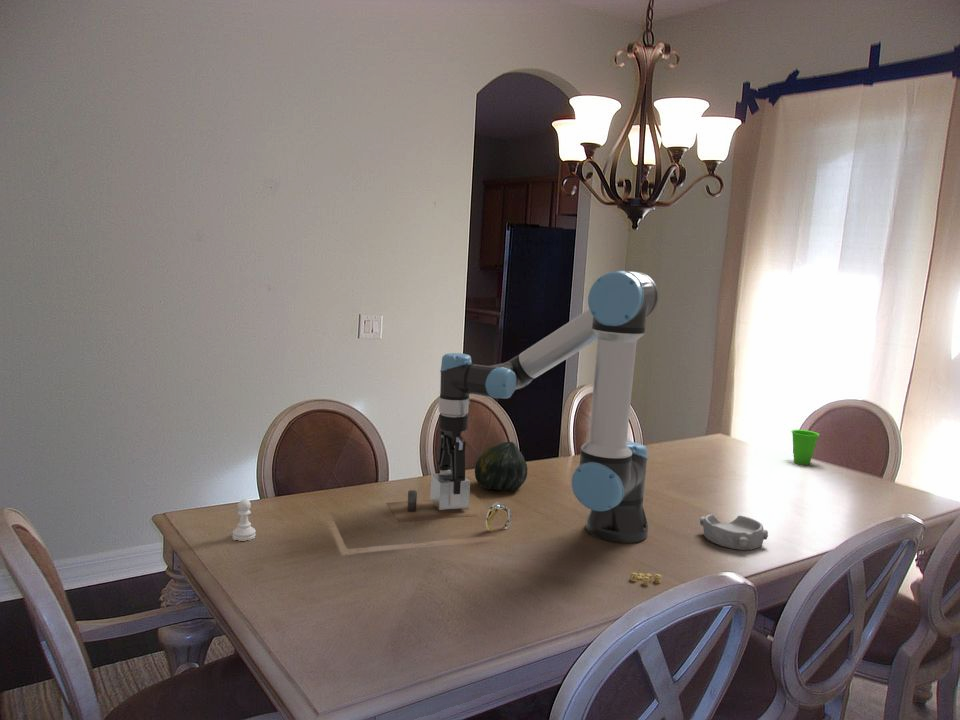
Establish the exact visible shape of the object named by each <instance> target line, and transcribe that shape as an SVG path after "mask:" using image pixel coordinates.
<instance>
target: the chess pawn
mask: <svg viewBox="0 0 960 720" xmlns="http://www.w3.org/2000/svg"><path fill="white" fill-rule="evenodd" d="M237 503H238V504H237V508H238V511H237V515H240V519H239V522H238V523H237V527H236V528H235V529H234V530H232V540H234V539H235V540H242V541H243V540H244V541H245V540H250V541H252V540H251V539H253V538H254V539H256V537H255V536H257V535H256V532H257V531H256V529H255V528H254V527H253V526H251V525H252V523H251V522H250V521H249V515H250V514H252V511H251V510H250V509H251V507H252V505H251V501H250V500H248V499H241V500H239V502H237ZM254 539H253V540H254ZM235 540H234V541H235Z"/></svg>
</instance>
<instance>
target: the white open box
mask: <svg viewBox="0 0 960 720" xmlns="http://www.w3.org/2000/svg"><path fill="white" fill-rule="evenodd" d="M430 476H431V477H430V495H429V496H430V497H429V500H431V501H432V502H433V503H434V504H435V506H436V507H437V508H438V509H439V510H444V509H457V508H469V509H470V495H471V494H470V493H471V480H470V479H468V478H467V477H466V476H465V481H462V482H461V503H460V506H450V505H449V503H450V481H449V480H450V479H452V472H451V473H440V472H439V473H431V475H430Z"/></svg>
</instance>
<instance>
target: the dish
mask: <svg viewBox="0 0 960 720" xmlns="http://www.w3.org/2000/svg"><path fill="white" fill-rule="evenodd" d="M699 524H700V526H702V529H703V534H704V537H705V538H706V539H707V540H708V541H710V542H712V543H714V544H716V545H718V546H722V547H725V548H730V549H732V550H739V551H749V550H754V549H758V548H760V547H762V545H763V542H764V540H767V539H768V537H769V532H768V530H767V529H764V525H763V524H762V523H761V522H760V521H758V520H756V519H754V518H751V517H749V516H748V517H747V516H743V515H737V517H736V518H735V519H733V520H732V521H730V522H721V521H720V520H719V519H718V518H716V517H715V515H714V514H713V513H710V514H708V515H706V516H700V519H699Z"/></svg>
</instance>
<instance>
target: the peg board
mask: <svg viewBox="0 0 960 720" xmlns="http://www.w3.org/2000/svg"><path fill="white" fill-rule="evenodd" d="M417 497H418V492H417V490H415V489H414V490H413V489H412V490H411V489H410V490H408V491H407V501H405V500H404V501H394V502H386V505H387V507H388V508H389V509H390V511H391V512H392V514H393V515H394V517H395V519H397V521H398V522H399V523H402V522H403V523H405V522H416V521H428V520H440V519H452V518H454V519H455V518H466V517H477V515H476V514H475V513H474V512H473V511H472V509H470V507H469V508H457V509H444V510H439V509H438V508H437V507H436V506H435V504H434V503H433V502H432V501H431V500H430V499H423V500H422V499H420V500H419V499H418V498H417Z"/></svg>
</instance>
